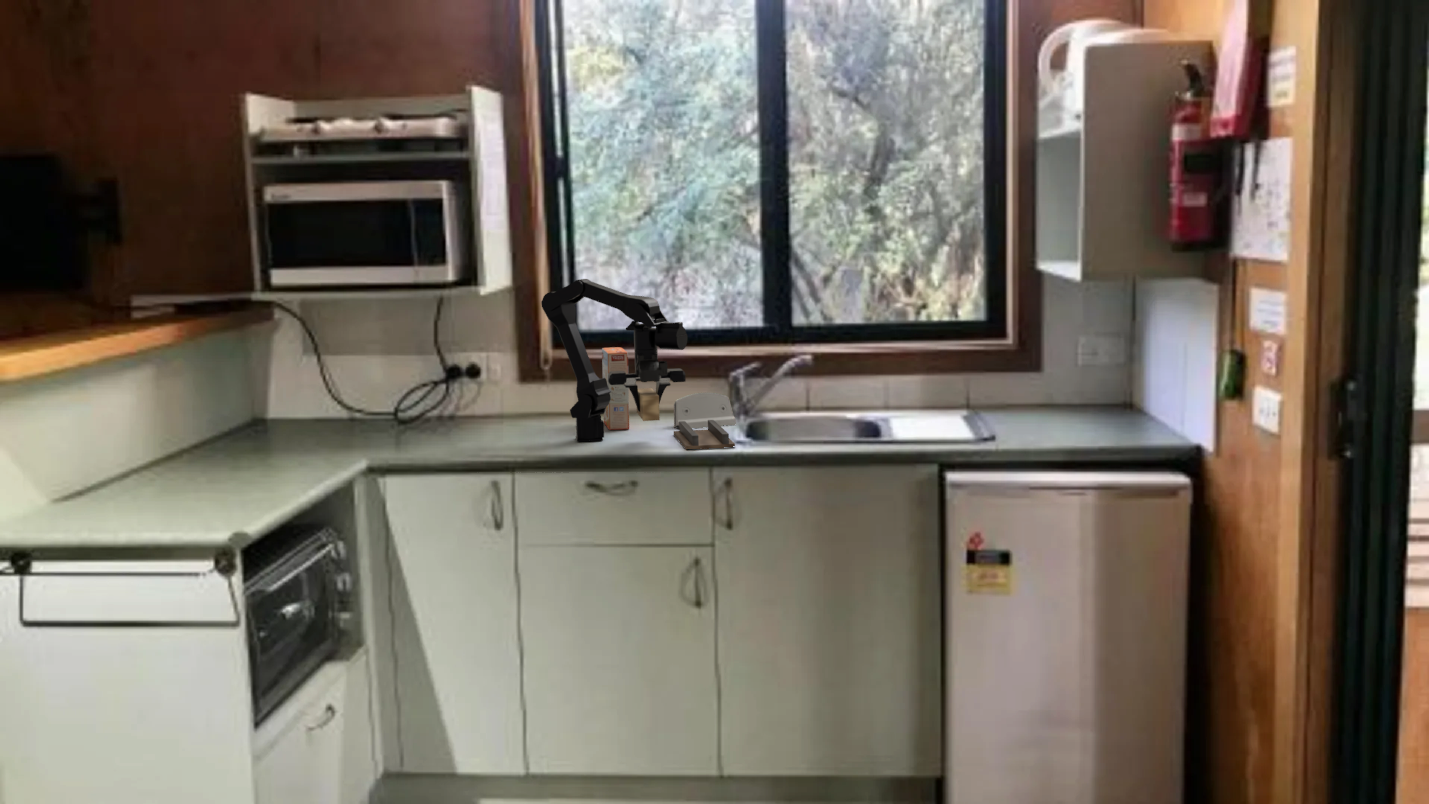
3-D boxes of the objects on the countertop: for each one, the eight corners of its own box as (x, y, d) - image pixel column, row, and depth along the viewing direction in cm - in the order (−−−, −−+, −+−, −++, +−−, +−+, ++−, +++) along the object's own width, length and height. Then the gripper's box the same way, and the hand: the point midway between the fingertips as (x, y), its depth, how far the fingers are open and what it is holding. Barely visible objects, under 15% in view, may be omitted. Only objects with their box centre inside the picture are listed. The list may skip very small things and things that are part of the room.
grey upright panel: (679, 429, 353) (674, 393, 355) (673, 433, 357) (668, 396, 359) (737, 425, 359) (732, 388, 360) (731, 428, 363) (726, 392, 365)
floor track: (686, 450, 324) (686, 436, 323) (673, 434, 345) (673, 421, 345) (735, 447, 326) (734, 433, 325) (719, 432, 347) (719, 419, 347)
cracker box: (631, 429, 355) (628, 351, 351) (608, 431, 353) (605, 352, 350) (624, 421, 368) (622, 346, 365) (603, 422, 367) (600, 347, 364)
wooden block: (643, 421, 325) (642, 396, 324) (636, 412, 339) (636, 388, 338) (659, 420, 326) (658, 395, 325) (652, 411, 339) (651, 388, 339)
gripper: (611, 353, 320) (613, 417, 323) (688, 350, 323) (689, 414, 326) (607, 349, 331) (609, 410, 334) (681, 346, 334) (682, 407, 337)
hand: (647, 411), depth 332 cm, fingers closed on wooden block, 4 cm apart
